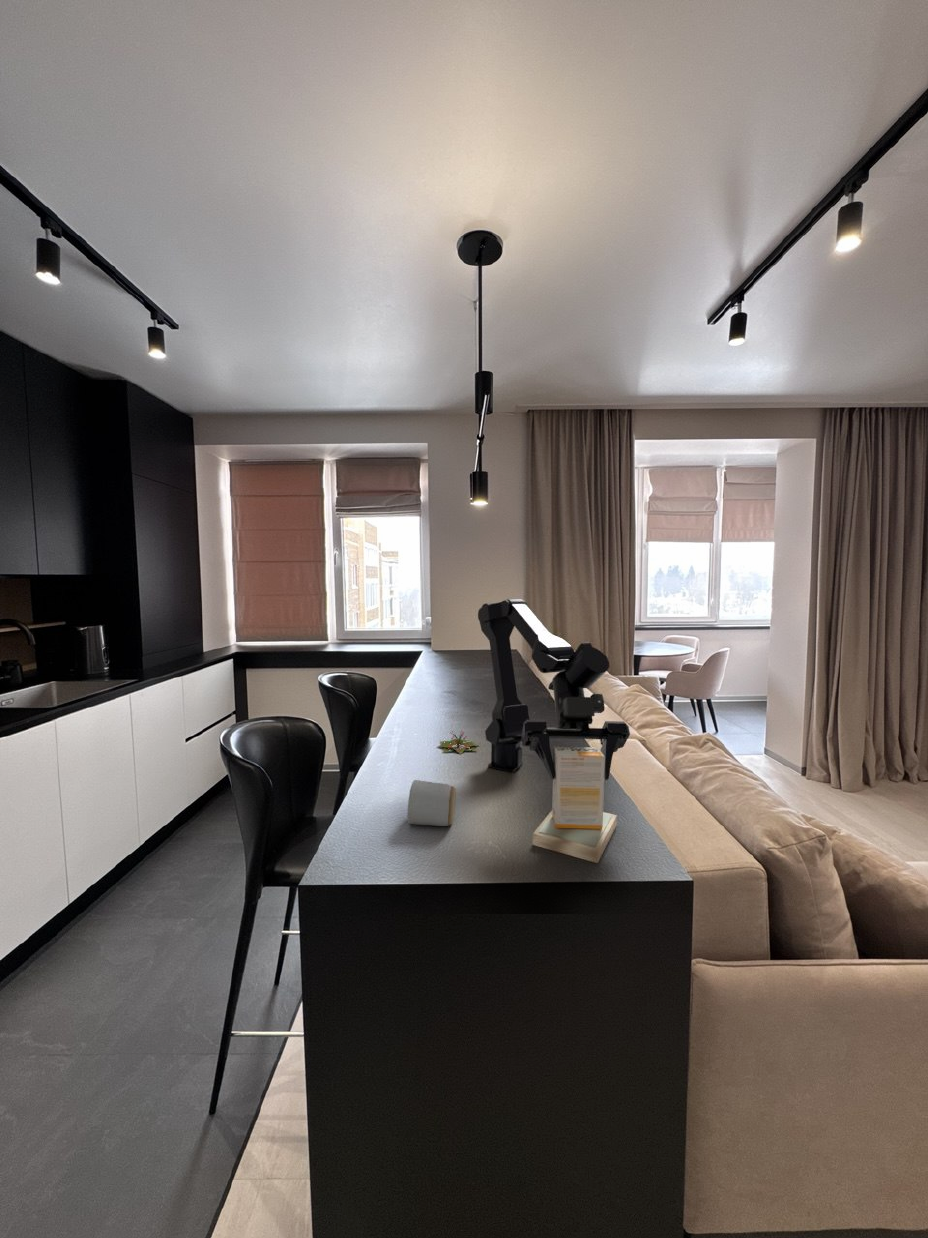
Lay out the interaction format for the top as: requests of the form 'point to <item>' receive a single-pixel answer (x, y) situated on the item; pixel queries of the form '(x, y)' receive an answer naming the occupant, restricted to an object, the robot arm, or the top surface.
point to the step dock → (575, 838)
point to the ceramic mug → (431, 803)
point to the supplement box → (578, 787)
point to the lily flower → (458, 741)
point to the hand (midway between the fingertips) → (580, 779)
